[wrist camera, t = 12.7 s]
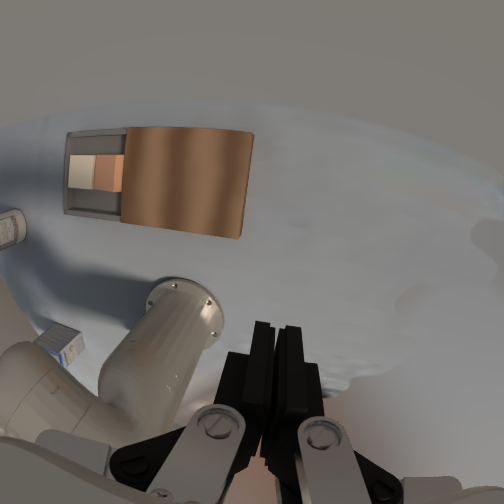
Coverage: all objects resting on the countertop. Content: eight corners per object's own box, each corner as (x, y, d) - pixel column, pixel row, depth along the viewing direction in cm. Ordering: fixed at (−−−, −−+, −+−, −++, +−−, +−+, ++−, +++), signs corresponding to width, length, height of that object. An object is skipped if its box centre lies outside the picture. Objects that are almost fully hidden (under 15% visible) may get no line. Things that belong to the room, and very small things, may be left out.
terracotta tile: (127, 155, 33) (116, 154, 31) (124, 191, 34) (113, 192, 32) (107, 154, 34) (96, 154, 33) (104, 187, 36) (94, 188, 34)
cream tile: (70, 155, 33) (78, 155, 35) (68, 187, 34) (75, 186, 36) (93, 155, 33) (101, 155, 35) (90, 189, 34) (98, 188, 36)
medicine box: (60, 338, 48) (38, 358, 39) (55, 321, 46) (31, 341, 38) (85, 348, 47) (63, 372, 39) (81, 331, 46) (57, 354, 37)
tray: (137, 130, 34) (128, 128, 31) (130, 218, 38) (121, 221, 35) (77, 133, 34) (67, 132, 32) (73, 211, 38) (63, 214, 36)
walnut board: (254, 135, 33) (251, 132, 30) (241, 233, 37) (238, 239, 34) (138, 129, 34) (127, 127, 31) (131, 218, 38) (120, 222, 35)
